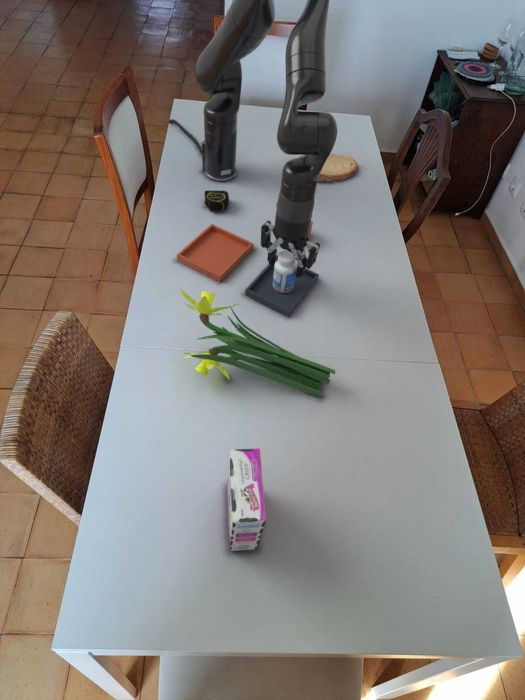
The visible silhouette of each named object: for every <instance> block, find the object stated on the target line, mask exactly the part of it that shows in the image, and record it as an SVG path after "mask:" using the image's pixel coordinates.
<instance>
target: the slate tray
mask: <svg viewBox="0 0 525 700" xmlns="http://www.w3.org/2000/svg"><path fill="white" fill-rule="evenodd" d="M278 256H279V254H276V260H277V259H278ZM275 262H276V261H275ZM275 262H274V263H273V264H272V265H269V264H268V265H267V266H266V267H265V268H264V269H263V270H262V271H261V272H260V273H259V274H258V275H257V276H256V277H255V279H253V280H252V281H251V283H250V284H249V285H248V286H247V287H246V288H245V289H244V291H245V293H244V296H245V297H248V298H250V299H252V300H254V301H256V302H257V303H259V304H262V305H263V306H265V307H267V308H269V309H271V310H273V311H275V312H277V313H279V314H281V315H283V316H285V317H287V318H289V317H290V316H291V315H292V314H293V313H294V311H295V310H296V309H297V307H298V306H299V305H300V304H301V302H302V301H303V300H304V299H305V297H306V296H307V295H308V293H309V292H311V290H312V288H313V287H314V286H315V284H316V283H317V282H318V281H319V278H320V277H319V276H320V274H319V273H317V272H315V271H313V270H311V269H307V268H306V269H305V273H304V274H303V275H302V276H301V277H299V278H297V277H296V278H295V284H294V288H293V289H292V290H291V291H290V292H288V293H281V292H278V291H276V290H275V289H274V287H273V274H274V265H275ZM297 266H298V263H297Z"/></svg>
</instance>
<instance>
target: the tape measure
mask: <svg viewBox="0 0 525 700" xmlns="http://www.w3.org/2000/svg"><path fill="white" fill-rule="evenodd" d="M229 204H230V197H229V192H228V191H227V190H205V191H204V205H205V206H206V208H207V209H208V210H209V211H213V212H223V211H224V210H226V209H228V207H229Z"/></svg>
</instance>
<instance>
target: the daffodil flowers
mask: <svg viewBox="0 0 525 700" xmlns="http://www.w3.org/2000/svg"><path fill="white" fill-rule="evenodd" d="M178 289H179V291H180V293H181V295H182V296H183V298H185V299H186V300H187V301H188V302H190V303H191V304H192V305H191V304H188V303H186V302H184V301H182V303H183V304H184V305H186V306H187V307H188V308H190V309H192V310H193V311H197V312H198V313H199V316H198V317H199V319H200V322H201V323H202V324H203V325H204V326H205V327H206V328H207V329H209V330H211V331H213V334H211V335H206V336H205V335H204V336H201V337H197V340H207V339H217V340H218V341H221V342H222V343H224V345H217V346H213V347H212V348H208V349H207V351H208V352H202V353H191V352H182V354H184V355H185V354H186V355H185V356H183V358H186V359H187V358H196V359H202V361H201V362H200V363H199V364H198V365H196V367H195V368H194V370H195V371H196V372H198V374H200V375H203V376H204V377H207V375H208V372H209V370H211V369H212V368H213V367H215V366H216V368H217V369H218V370H219V371H220V372H221V374H223V376H225V378H226V379H227V380H229V381H231V379H230V375H229V373H228V371H227V370H225V368H224V367H223V366H222V365H221V363H222V364H226V365H230V366H232V367H236V368H238V369H241V370H244V371H246V372H250V373H252V374H255V375H257V376H260V377H263V378H266V379H269V380H271V381H275V382H277V383H279V384H282V385H285V386H289V387H290V388H294V389H297V390H300V391H302V392H305V393H308V394H310V395H313V396H316V397H318V398H322V397H323V395H324V391H322V390H319V389H321V388H322V385H323V383H324V384H326V385H329V384H330V383H331V379H330V377H331V374H333V375H336V369H333V368H330V367H328V366H325V365H322V364H320V363H317V362H315V361H312V360H310V359H307V358H304V357H300V356H298V354H297V355H296V354H295V353H292V352H290V351H289V350H287V349H285V348H283V347H281V346H280V345H278V344H276V343H274V342H272V341H271V340H269V339H267V338H266V337H264V336H262V335H261V334H259V333H257V332H256V331H254V330H253V329H252V328H250V327H249V326H247V325H246V324H244V322H243V321H242V320H241V319H240V318H239V316H238V315H237V314H236V313H235V311H234V310H233V307H236V306H239V305H240V303H235V304H233V305H229V306H219V307H217V306H216V307H212V304H213V302H214V299H215V297H216V293H214V292H211V291H210V292H209V291H201V292H200V293H201V294H200V295H201V298H200V301H199V302H198V301H196V300H195V299H194V298H192V297H191V296H190V295H189V294H188V293H186V291H184V290H183V289H182V288H180V287H178ZM227 309H230V310H231V312H232V314H233V315H234V317H235V319H236V320H237V322H234V320H233V319H232V318H231V317H230V315H229V314H223V316H224V317H227V318H228V320H229V321H230V323H231V325H233V327H234V328H235V329H236V330H237V331H238V332H239V334H241V335H239V334H236V333H235V332H231V331H229V330H228V329H227V328H225V327H223V326H221V327H219V326H217V325H215V324H213V323H211V321H210V317H209V316H222V314H221V313H216V312H218V311H219V312H220V311H222V310H227ZM242 353H243V354H242ZM219 354H225V355H228V356H223V355H219ZM245 354H247V355H245ZM249 355H250V356H249ZM253 356H254V357H253Z"/></svg>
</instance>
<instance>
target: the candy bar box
mask: <svg viewBox="0 0 525 700" xmlns="http://www.w3.org/2000/svg"><path fill="white" fill-rule="evenodd" d="M228 458H229V459H228V472H227V486H226V489H227V490H226V491H227V493H226V495H227V524H228V547H229V551H230V552H238V551H239V552H240V551H254V550H255V551H256V550H258V547H259V544H260V540H261V537H262V534H263V531H264V529H265V525H266V522H267V512H266V504H265V493H264V482H263V481H264V480H263V469H262V457H261V448H258V447H257V448H232V449H229V457H228Z"/></svg>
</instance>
